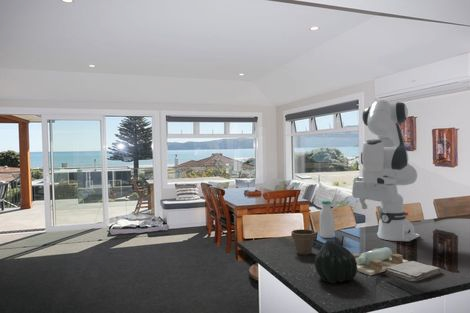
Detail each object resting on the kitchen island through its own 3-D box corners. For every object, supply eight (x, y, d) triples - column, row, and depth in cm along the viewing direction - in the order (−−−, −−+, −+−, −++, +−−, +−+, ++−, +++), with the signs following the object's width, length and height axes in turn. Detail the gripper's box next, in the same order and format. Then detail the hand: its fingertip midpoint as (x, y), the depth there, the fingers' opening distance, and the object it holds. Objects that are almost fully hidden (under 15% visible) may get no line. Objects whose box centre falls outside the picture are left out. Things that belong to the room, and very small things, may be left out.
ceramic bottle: (382, 257, 149) (382, 245, 149) (392, 260, 145) (392, 248, 145) (353, 265, 140) (353, 253, 140) (363, 269, 136) (363, 256, 136)
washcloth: (384, 274, 134) (384, 266, 134) (412, 265, 143) (412, 258, 143) (413, 284, 124) (413, 275, 124) (441, 274, 133) (441, 266, 133)
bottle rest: (381, 255, 155) (381, 246, 155) (408, 263, 144) (408, 253, 144) (344, 266, 143) (343, 256, 143) (370, 275, 132) (370, 264, 132)
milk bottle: (334, 238, 186) (334, 201, 186) (320, 238, 188) (319, 201, 187) (333, 235, 194) (332, 199, 193) (319, 234, 195) (318, 199, 195)
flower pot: (295, 248, 170) (295, 228, 170) (318, 250, 165) (318, 229, 165) (288, 254, 160) (288, 233, 160) (313, 257, 155) (312, 235, 155)
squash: (366, 273, 119) (352, 234, 129) (324, 277, 118) (313, 237, 128) (354, 288, 130) (342, 251, 140) (316, 292, 129) (306, 254, 139)
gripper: (348, 176, 153) (349, 207, 153) (390, 180, 135) (390, 215, 136) (358, 175, 156) (358, 206, 157) (399, 179, 138) (400, 213, 139)
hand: (373, 210), depth 146 cm, fingers open, 8 cm apart
